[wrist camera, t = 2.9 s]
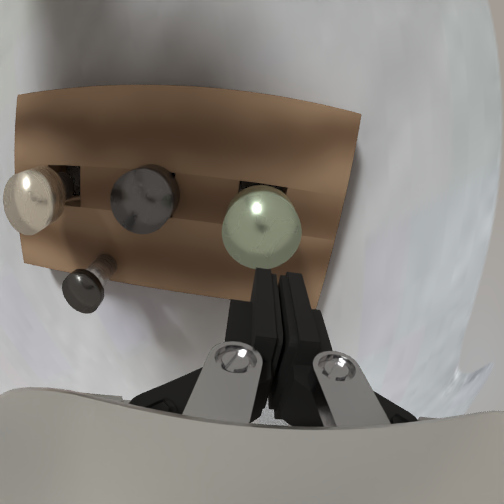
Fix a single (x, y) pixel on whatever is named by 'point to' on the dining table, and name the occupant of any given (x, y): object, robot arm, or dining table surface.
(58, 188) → the knob cream
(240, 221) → the knob sage
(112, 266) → the dial post
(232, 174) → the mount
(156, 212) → the knob charcoal
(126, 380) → the dining table surface
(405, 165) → the dining table surface
